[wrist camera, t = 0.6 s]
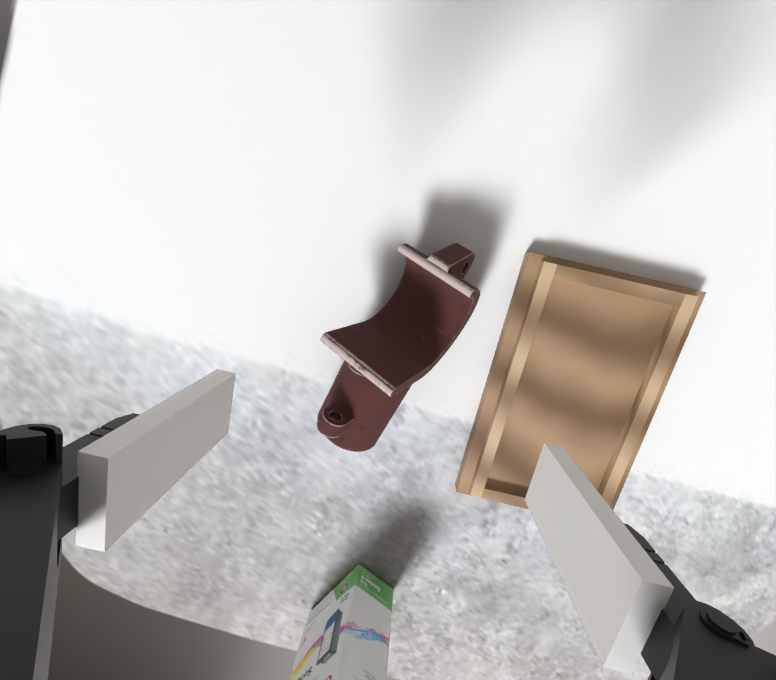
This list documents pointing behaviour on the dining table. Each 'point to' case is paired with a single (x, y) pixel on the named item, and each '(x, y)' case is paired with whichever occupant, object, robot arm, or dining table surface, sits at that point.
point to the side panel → (574, 376)
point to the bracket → (396, 345)
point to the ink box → (347, 632)
